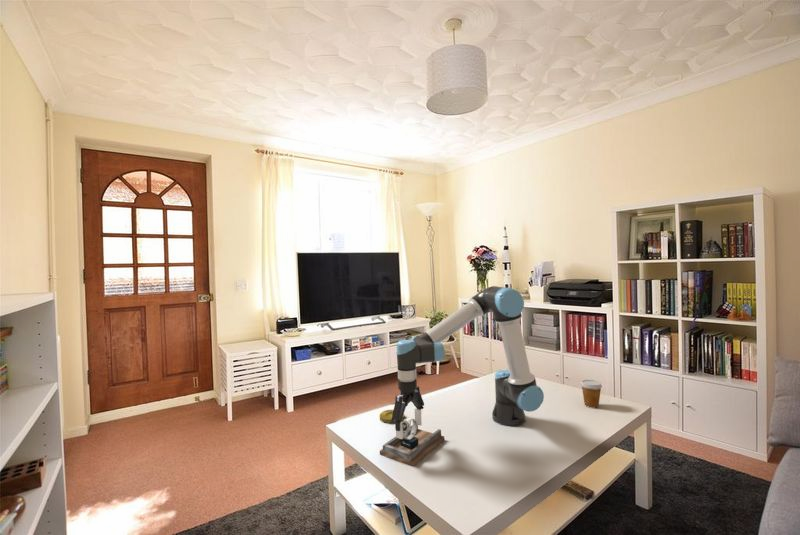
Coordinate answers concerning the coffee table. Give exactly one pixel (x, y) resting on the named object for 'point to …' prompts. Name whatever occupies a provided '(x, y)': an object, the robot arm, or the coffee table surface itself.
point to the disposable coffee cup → (591, 392)
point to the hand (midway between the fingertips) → (409, 431)
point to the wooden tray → (413, 456)
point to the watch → (410, 440)
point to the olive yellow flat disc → (387, 416)
